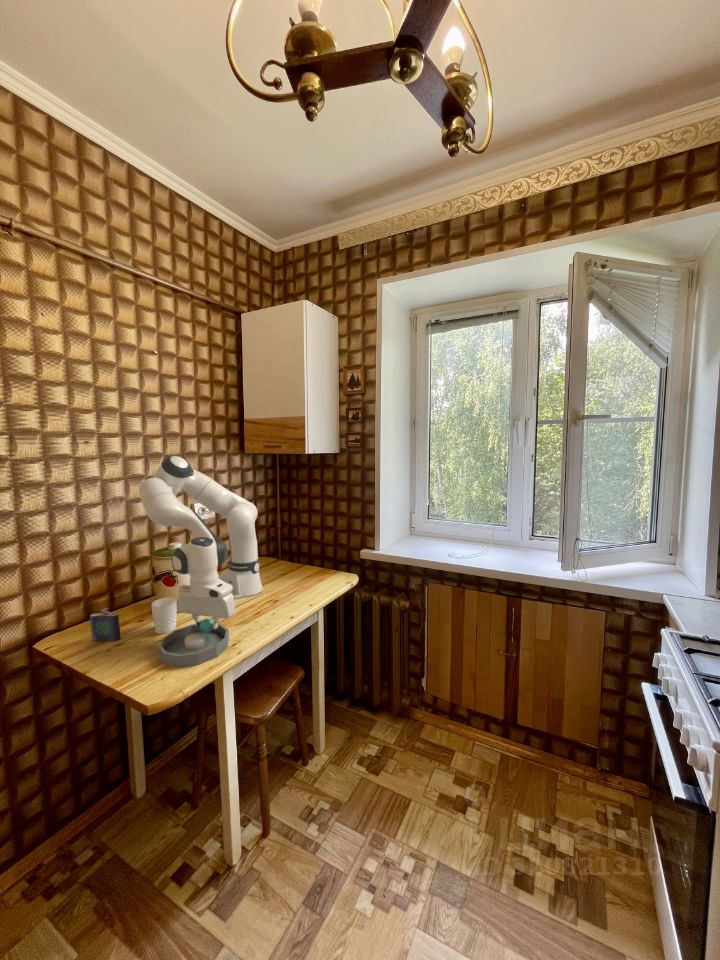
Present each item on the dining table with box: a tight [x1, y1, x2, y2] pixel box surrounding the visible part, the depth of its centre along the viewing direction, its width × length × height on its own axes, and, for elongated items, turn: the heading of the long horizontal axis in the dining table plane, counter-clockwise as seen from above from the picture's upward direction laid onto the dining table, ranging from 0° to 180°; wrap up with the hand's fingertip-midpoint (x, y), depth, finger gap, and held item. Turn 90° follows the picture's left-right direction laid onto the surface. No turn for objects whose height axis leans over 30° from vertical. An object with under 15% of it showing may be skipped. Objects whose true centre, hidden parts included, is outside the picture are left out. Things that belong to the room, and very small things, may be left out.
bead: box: [200, 618, 214, 633], centre depth 127 cm, size 4×4×4 cm
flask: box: [89, 607, 122, 643], centre depth 128 cm, size 9×3×11 cm, turn 90°
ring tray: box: [157, 623, 230, 668], centre depth 122 cm, size 20×20×4 cm
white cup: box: [151, 597, 178, 635], centre depth 134 cm, size 8×8×10 cm
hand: (207, 627), depth 127 cm, fingers closed on bead, 4 cm apart
